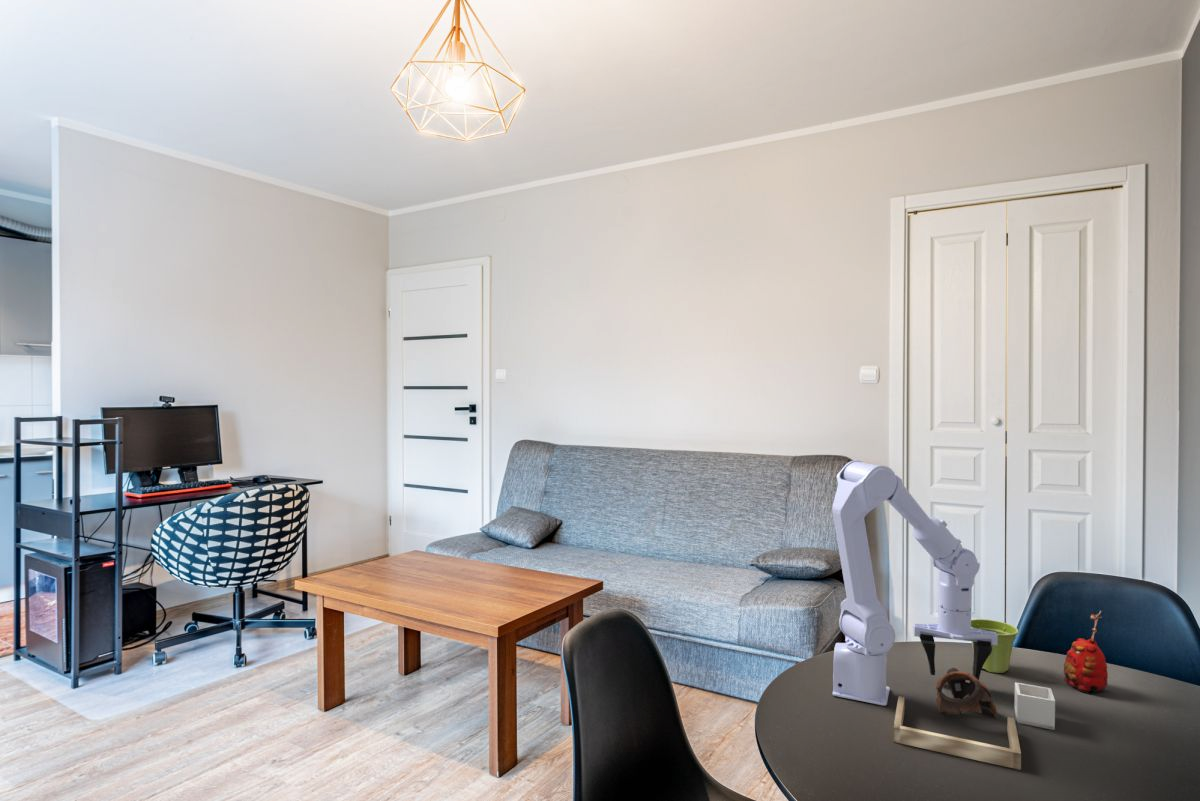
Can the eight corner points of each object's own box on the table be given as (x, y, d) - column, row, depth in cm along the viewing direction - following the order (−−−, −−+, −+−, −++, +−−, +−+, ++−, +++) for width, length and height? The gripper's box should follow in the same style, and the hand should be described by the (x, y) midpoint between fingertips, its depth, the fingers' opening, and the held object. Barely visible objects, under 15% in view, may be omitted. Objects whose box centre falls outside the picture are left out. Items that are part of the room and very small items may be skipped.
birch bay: (893, 741, 113) (893, 726, 113) (898, 709, 124) (898, 696, 124) (1020, 769, 105) (1021, 753, 105) (1014, 732, 116) (1014, 718, 116)
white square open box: (1017, 722, 119) (1017, 694, 119) (1014, 709, 124) (1014, 682, 124) (1054, 730, 117) (1055, 701, 117) (1050, 716, 122) (1050, 688, 122)
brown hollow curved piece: (1012, 729, 118) (996, 693, 116) (959, 748, 120) (942, 713, 118) (978, 682, 130) (963, 648, 128) (930, 700, 131) (914, 667, 130)
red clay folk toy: (1055, 677, 138) (1057, 603, 137) (1092, 679, 137) (1094, 604, 137) (1078, 695, 130) (1080, 616, 130) (1118, 696, 129) (1119, 618, 129)
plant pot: (958, 657, 148) (959, 617, 148) (1005, 659, 147) (1006, 619, 146) (976, 675, 139) (976, 633, 138) (1026, 678, 137) (1026, 635, 137)
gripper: (916, 609, 132) (915, 678, 133) (1001, 617, 128) (1000, 689, 128) (912, 598, 139) (911, 664, 139) (993, 606, 134) (992, 674, 135)
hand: (953, 675), depth 134 cm, fingers open, 7 cm apart
